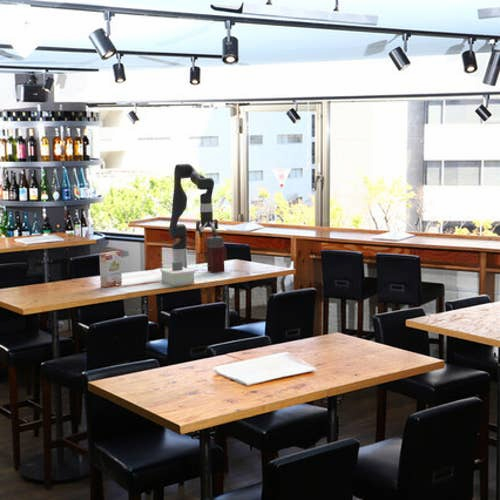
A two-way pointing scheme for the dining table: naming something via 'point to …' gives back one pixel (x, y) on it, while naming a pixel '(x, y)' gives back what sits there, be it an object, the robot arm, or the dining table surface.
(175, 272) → the lid
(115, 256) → the cracker box
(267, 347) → the dining table surface
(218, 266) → the dark red pepper mill
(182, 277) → the box
